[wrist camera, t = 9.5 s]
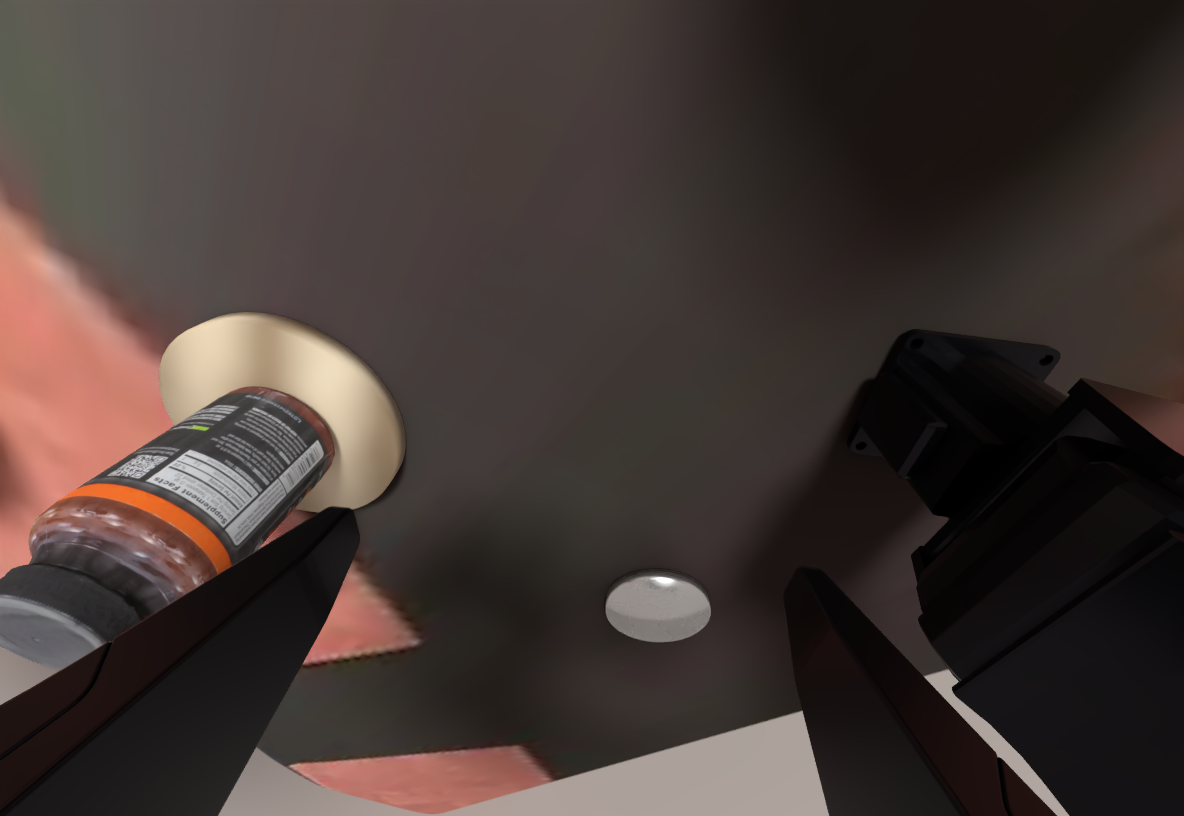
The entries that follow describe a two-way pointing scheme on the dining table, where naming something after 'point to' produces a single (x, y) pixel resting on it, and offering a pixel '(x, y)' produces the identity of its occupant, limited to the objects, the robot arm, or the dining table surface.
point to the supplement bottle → (161, 523)
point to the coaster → (294, 394)
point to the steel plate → (657, 605)
